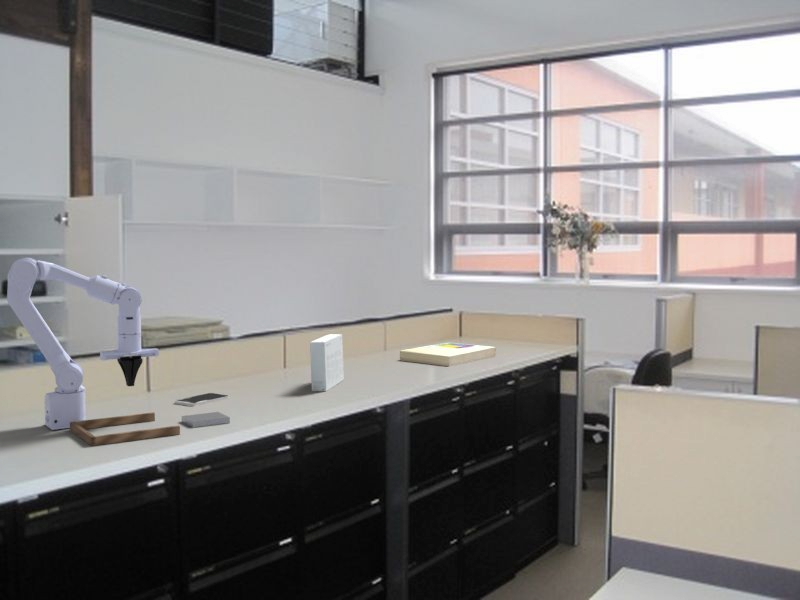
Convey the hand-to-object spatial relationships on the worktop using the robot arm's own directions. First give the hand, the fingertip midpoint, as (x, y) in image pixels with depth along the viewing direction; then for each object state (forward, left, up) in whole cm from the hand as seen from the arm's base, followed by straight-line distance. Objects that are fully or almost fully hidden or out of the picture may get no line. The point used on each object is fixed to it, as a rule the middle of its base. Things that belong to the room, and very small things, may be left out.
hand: (130, 385), depth 214 cm
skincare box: (+70, +18, -10) cm, 73 cm away
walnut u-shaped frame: (-5, -11, -9) cm, 15 cm away
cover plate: (+16, -11, -10) cm, 22 cm away
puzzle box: (+143, +45, -10) cm, 150 cm away
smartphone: (+26, +16, -10) cm, 32 cm away
